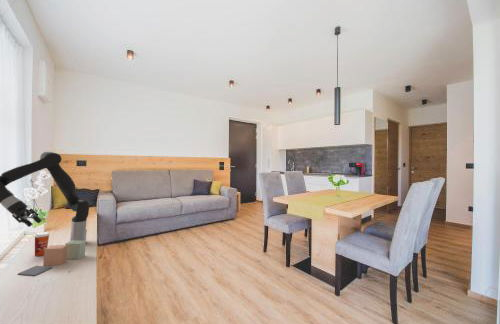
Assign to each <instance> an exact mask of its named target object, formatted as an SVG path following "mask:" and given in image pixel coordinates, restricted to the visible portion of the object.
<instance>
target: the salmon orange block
mask: <svg viewBox="0 0 500 324" xmlns="http://www.w3.org/2000/svg"><path fill="white" fill-rule="evenodd" d="M66 257H67V245H65V244H59V245H58V244H57V245H55V244H52V245H48V246H47V248H46V249H45V251H44V255H43V264H42V266H47V265H48V266H61V265H63V264H64V263H65V262H67V259H66ZM48 266H47V267H48Z"/></svg>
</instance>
